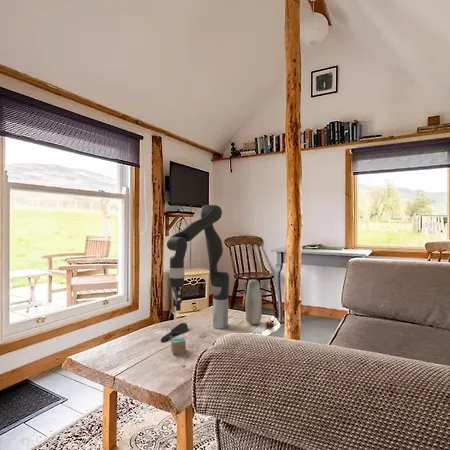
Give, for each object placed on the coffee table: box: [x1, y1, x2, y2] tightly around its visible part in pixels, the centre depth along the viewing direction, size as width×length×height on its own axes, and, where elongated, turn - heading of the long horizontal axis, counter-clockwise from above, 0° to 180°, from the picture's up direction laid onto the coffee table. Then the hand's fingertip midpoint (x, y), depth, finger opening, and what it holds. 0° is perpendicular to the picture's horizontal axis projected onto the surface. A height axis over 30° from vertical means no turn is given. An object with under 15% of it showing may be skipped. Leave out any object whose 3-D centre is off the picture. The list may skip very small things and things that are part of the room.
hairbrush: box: [160, 322, 189, 343], centre depth 180 cm, size 8×4×25 cm
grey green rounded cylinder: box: [244, 278, 263, 326], centre depth 199 cm, size 10×10×28 cm
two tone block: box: [170, 336, 187, 356], centre depth 156 cm, size 6×6×6 cm
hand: (176, 308), depth 161 cm, fingers open, 8 cm apart
